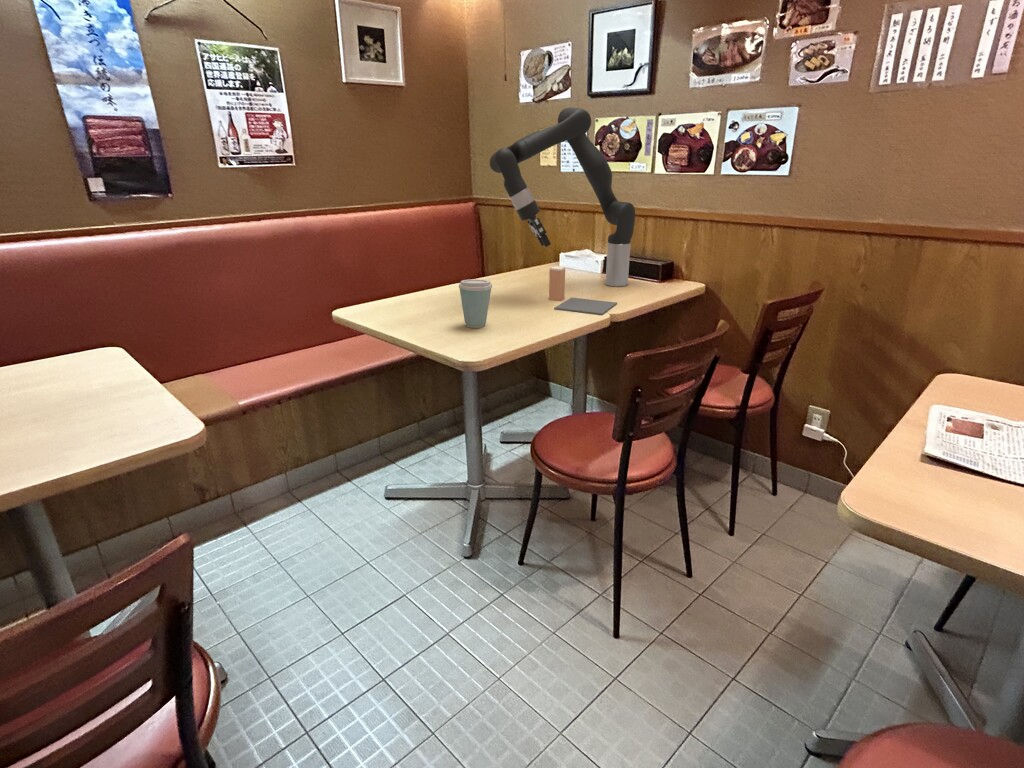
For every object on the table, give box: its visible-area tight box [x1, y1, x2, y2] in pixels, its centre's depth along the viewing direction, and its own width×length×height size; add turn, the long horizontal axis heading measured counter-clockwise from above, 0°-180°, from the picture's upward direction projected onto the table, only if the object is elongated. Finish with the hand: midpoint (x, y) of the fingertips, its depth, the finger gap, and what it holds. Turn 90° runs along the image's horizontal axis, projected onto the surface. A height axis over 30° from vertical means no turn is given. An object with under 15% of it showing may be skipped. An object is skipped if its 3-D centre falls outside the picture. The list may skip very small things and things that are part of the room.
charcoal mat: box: [553, 297, 618, 316], centre depth 213 cm, size 17×18×1 cm
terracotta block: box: [548, 265, 566, 302], centre depth 222 cm, size 4×4×12 cm
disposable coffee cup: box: [458, 278, 493, 329], centre depth 189 cm, size 11×11×15 cm
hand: (546, 245), depth 212 cm, fingers open, 8 cm apart
